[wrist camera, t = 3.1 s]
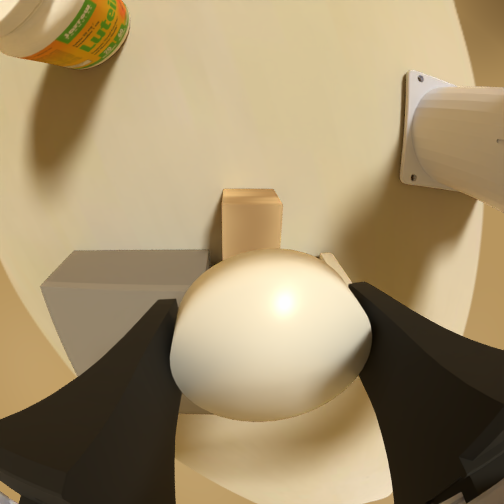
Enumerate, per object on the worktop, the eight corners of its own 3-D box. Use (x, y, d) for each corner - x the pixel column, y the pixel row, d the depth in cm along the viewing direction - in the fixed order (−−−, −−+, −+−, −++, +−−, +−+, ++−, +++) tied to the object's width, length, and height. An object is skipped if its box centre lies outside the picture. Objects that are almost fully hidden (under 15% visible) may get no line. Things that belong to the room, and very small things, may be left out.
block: (273, 189, 18) (283, 204, 14) (271, 235, 19) (279, 259, 16) (223, 188, 17) (221, 204, 14) (223, 235, 19) (222, 259, 15)
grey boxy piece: (208, 249, 19) (202, 291, 14) (216, 367, 24) (214, 414, 19) (74, 250, 18) (40, 286, 14) (108, 361, 23) (92, 402, 18)
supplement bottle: (118, 71, 14) (20, 41, 5) (51, 71, 13) (-55, 62, 4) (143, -3, 12) (79, -78, 3) (74, 1, 11) (-11, -43, 2)
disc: (362, 240, 8) (389, 266, 6) (339, 375, 10) (352, 406, 9) (159, 258, 8) (146, 289, 6) (193, 392, 10) (191, 426, 8)
